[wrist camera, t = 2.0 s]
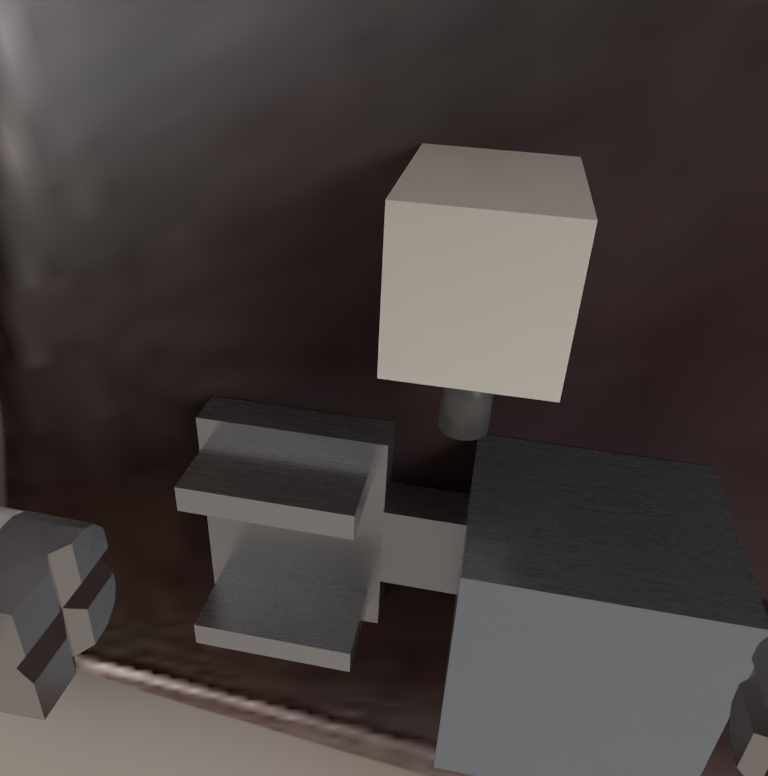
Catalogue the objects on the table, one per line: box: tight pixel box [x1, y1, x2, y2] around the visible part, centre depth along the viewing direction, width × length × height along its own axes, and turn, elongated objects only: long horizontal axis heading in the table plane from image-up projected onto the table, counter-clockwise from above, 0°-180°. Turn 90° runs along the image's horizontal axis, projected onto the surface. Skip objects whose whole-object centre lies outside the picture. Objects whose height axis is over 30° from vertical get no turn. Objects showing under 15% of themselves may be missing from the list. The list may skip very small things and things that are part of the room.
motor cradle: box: [174, 396, 768, 776], centre depth 24 cm, size 20×9×7 cm, turn 87°
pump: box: [377, 143, 598, 441], centre depth 19 cm, size 4×6×6 cm
